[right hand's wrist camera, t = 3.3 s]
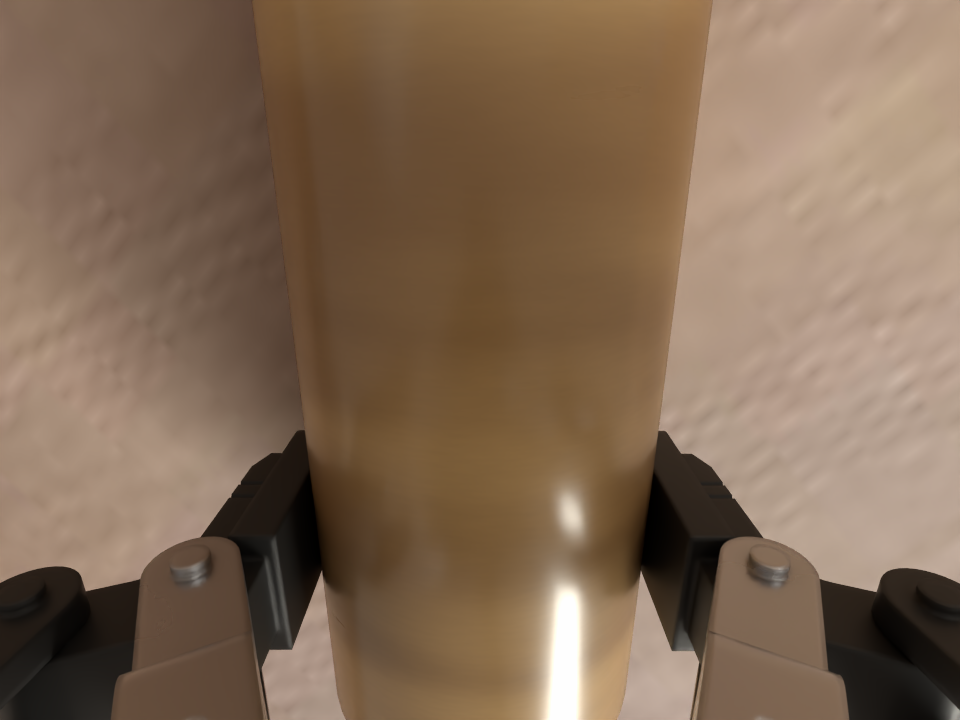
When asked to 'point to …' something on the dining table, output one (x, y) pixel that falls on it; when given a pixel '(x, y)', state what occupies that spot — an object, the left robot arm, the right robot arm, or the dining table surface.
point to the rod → (481, 330)
